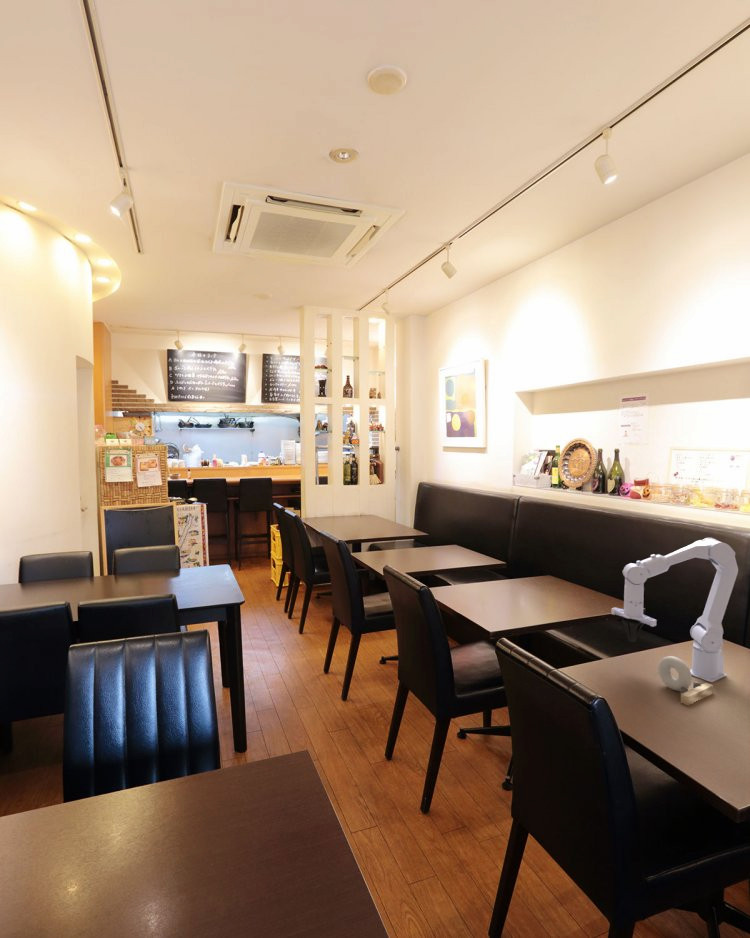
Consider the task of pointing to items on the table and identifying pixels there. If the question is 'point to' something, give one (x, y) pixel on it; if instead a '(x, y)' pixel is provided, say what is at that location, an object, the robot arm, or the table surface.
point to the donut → (681, 668)
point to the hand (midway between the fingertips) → (632, 641)
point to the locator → (696, 692)
